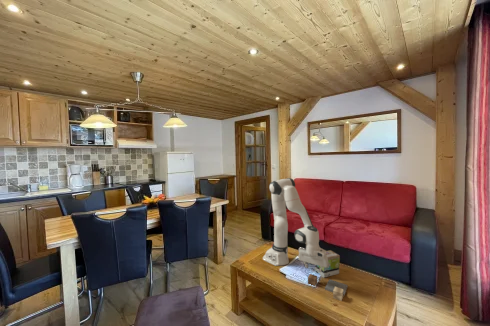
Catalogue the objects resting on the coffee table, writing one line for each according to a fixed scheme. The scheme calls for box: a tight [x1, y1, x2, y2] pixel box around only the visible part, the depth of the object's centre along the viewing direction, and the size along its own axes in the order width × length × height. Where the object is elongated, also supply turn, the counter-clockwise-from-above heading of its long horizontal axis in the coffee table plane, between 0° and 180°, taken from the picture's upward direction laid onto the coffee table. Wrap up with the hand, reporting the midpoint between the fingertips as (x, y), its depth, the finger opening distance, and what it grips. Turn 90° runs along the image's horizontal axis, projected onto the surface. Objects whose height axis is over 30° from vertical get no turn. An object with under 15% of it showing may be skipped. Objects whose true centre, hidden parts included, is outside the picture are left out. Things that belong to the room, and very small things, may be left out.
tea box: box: [314, 249, 341, 278], centre depth 163 cm, size 15×10×15 cm
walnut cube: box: [307, 273, 318, 287], centre depth 150 cm, size 5×5×5 cm
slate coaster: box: [324, 279, 348, 297], centre depth 145 cm, size 12×12×1 cm
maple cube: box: [332, 287, 344, 302], centre depth 136 cm, size 5×5×5 cm
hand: (313, 269), depth 149 cm, fingers open, 8 cm apart
